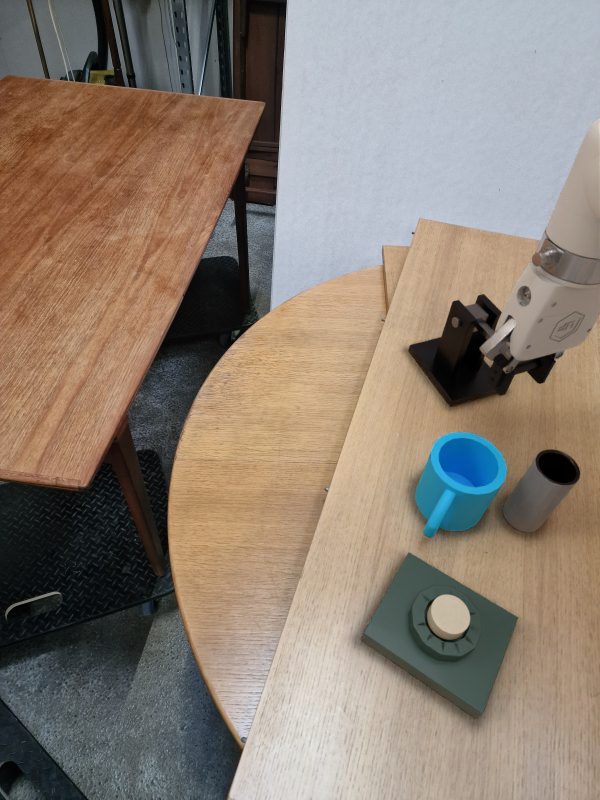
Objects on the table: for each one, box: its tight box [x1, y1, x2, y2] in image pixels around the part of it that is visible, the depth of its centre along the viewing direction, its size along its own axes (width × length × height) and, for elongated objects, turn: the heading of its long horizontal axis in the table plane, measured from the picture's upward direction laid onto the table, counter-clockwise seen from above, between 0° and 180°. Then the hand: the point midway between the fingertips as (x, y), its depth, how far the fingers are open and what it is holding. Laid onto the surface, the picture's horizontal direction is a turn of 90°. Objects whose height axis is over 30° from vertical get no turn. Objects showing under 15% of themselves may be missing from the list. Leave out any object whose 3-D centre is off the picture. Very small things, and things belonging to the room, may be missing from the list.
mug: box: [414, 431, 508, 539], centre depth 58 cm, size 12×8×8 cm
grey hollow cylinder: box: [502, 448, 581, 533], centre depth 57 cm, size 4×4×10 cm
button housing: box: [360, 552, 519, 719], centre depth 50 cm, size 12×10×4 cm
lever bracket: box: [407, 293, 502, 408], centre depth 72 cm, size 12×9×12 cm
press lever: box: [464, 303, 541, 376], centre depth 66 cm, size 12×5×2 cm, turn 21°
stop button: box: [427, 595, 470, 640], centre depth 48 cm, size 4×4×2 cm
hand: (514, 380), depth 64 cm, fingers closed on press lever, 5 cm apart
